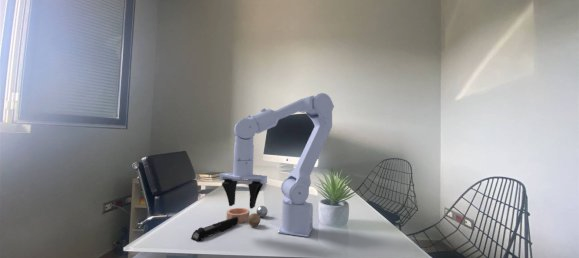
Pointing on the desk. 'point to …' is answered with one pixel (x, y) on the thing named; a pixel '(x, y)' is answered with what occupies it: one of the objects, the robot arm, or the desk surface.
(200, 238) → the electric trimmer
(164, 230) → the desk surface
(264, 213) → the steel ball
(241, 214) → the terracotta bowl
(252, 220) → the wooden ball
